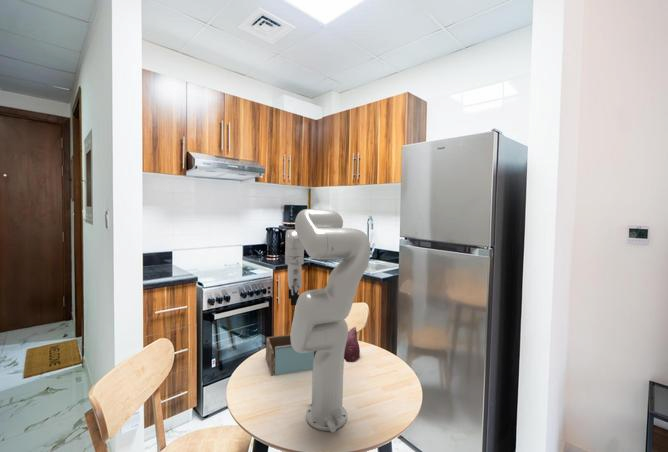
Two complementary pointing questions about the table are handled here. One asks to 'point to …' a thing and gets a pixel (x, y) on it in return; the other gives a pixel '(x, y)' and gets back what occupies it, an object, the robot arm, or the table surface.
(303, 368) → the light blue panel
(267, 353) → the box
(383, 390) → the table surface
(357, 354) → the vegetable
